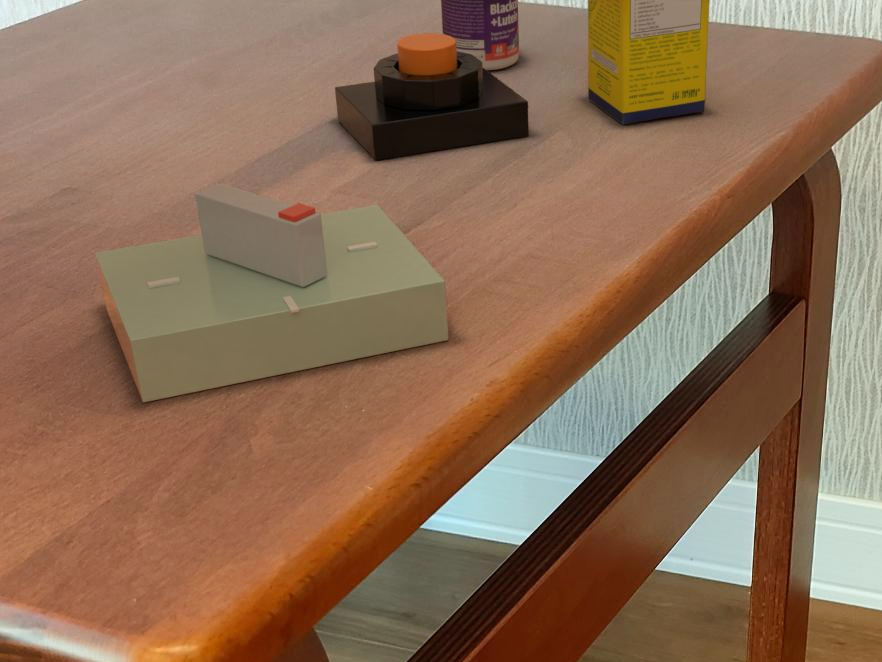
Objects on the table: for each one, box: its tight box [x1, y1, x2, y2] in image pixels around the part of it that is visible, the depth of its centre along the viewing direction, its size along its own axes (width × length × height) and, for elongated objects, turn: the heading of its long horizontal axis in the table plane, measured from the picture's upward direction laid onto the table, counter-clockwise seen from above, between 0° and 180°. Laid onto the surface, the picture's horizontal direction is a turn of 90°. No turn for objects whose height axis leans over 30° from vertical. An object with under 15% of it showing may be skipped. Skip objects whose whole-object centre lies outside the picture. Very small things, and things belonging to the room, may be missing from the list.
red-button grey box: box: [194, 182, 327, 287], centre depth 64 cm, size 6×2×3 cm, turn 53°
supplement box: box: [587, 0, 710, 125], centre depth 88 cm, size 6×6×11 cm
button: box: [396, 32, 457, 75], centre depth 86 cm, size 4×4×2 cm
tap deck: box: [94, 204, 449, 403], centre depth 65 cm, size 14×11×3 cm
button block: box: [334, 51, 530, 161], centre depth 87 cm, size 10×8×4 cm
